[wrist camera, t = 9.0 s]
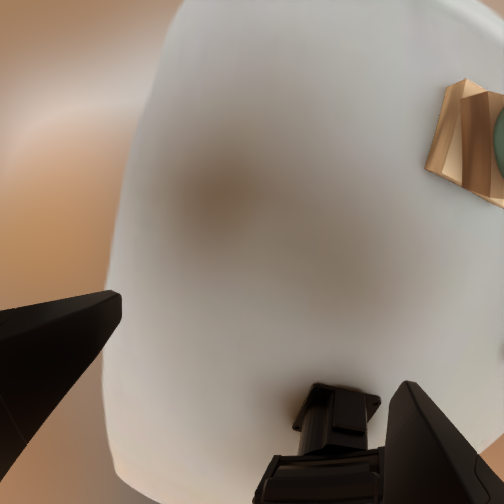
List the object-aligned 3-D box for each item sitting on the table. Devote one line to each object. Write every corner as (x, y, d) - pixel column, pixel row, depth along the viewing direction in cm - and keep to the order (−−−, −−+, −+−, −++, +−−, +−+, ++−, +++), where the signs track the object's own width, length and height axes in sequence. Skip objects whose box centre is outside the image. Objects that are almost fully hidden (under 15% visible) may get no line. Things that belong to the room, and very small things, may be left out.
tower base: (490, 202, 17) (514, 213, 13) (423, 168, 17) (441, 172, 14) (511, 127, 14) (537, 127, 11) (445, 87, 15) (466, 78, 12)
